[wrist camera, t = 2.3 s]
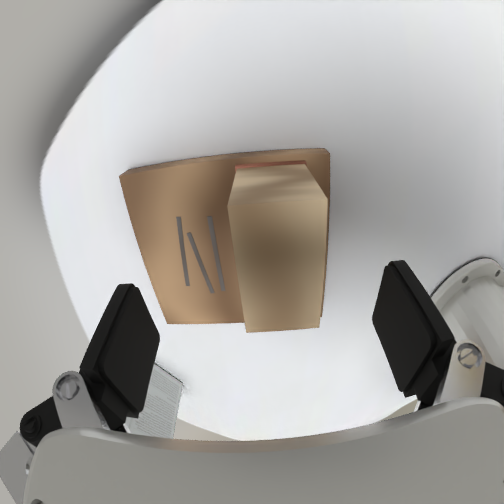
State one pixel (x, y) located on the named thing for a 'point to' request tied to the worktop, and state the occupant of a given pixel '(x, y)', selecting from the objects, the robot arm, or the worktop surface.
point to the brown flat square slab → (199, 230)
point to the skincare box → (158, 407)
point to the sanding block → (278, 244)
